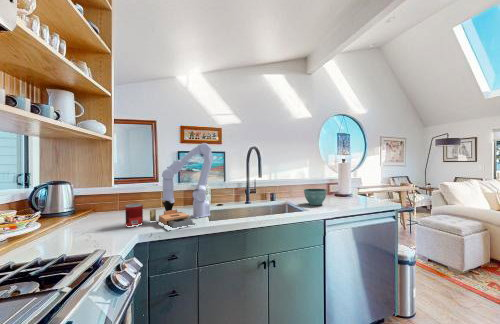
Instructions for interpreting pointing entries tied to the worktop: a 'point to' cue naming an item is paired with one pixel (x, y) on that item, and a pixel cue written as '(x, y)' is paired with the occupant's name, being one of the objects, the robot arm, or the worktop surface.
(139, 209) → the canned food
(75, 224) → the worktop surface
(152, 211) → the pin
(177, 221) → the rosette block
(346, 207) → the worktop surface
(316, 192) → the flower pot
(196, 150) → the robot arm
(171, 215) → the orange slotted block
